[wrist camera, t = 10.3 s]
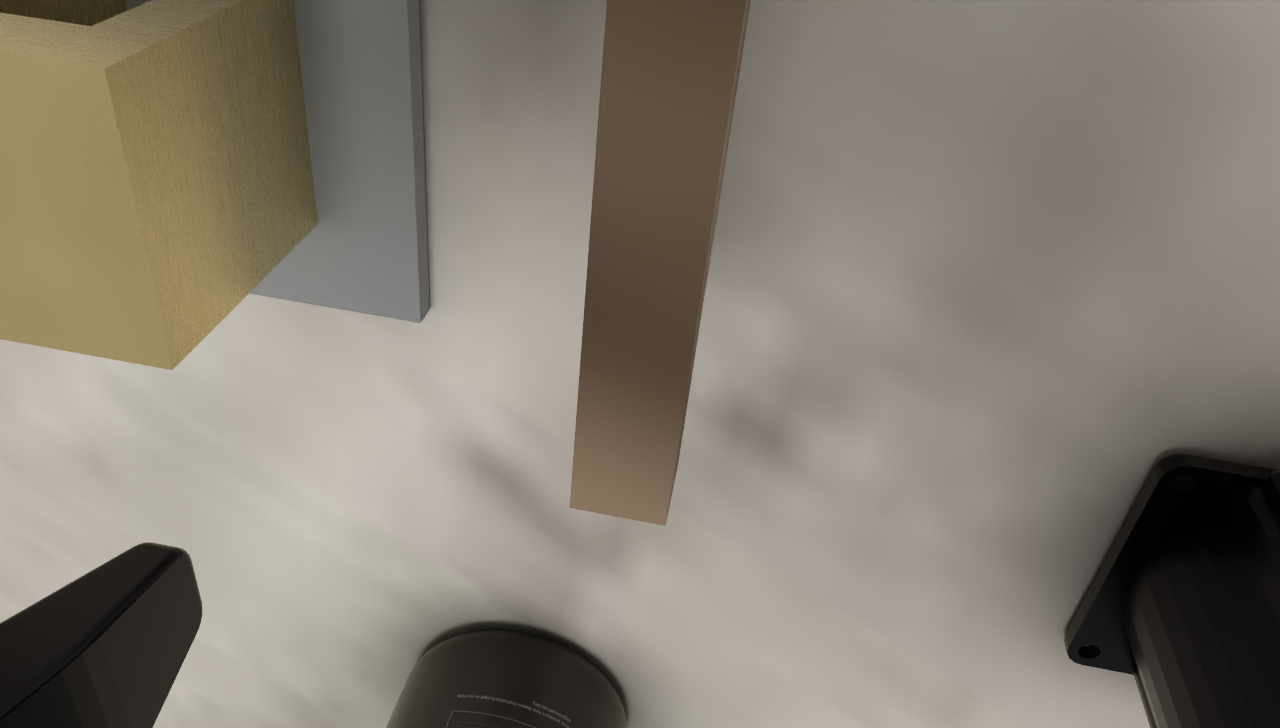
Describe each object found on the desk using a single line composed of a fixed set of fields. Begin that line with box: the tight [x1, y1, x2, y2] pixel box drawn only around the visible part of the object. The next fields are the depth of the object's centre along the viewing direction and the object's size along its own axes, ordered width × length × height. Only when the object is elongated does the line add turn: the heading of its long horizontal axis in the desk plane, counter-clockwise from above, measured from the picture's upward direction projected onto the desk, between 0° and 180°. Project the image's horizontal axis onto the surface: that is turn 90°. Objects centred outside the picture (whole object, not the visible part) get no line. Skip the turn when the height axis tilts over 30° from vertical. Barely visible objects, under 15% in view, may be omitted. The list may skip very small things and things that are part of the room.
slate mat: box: [125, 0, 430, 323], centre depth 19 cm, size 9×9×1 cm
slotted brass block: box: [0, 0, 318, 370], centre depth 17 cm, size 5×5×6 cm
